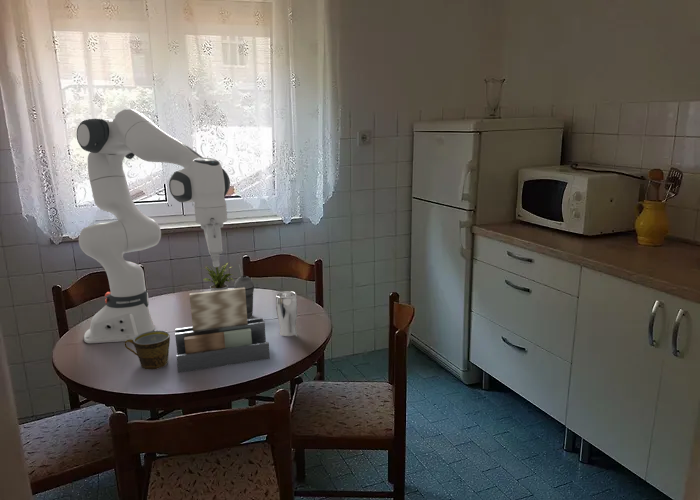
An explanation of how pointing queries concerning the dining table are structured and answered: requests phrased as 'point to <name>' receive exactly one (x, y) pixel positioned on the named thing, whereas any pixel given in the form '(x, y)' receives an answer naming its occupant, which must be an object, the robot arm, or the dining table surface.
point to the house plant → (218, 278)
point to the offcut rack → (224, 355)
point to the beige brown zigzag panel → (218, 308)
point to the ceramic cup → (151, 349)
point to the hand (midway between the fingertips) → (215, 262)
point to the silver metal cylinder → (287, 312)
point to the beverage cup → (246, 291)
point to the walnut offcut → (204, 342)
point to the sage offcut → (237, 338)
